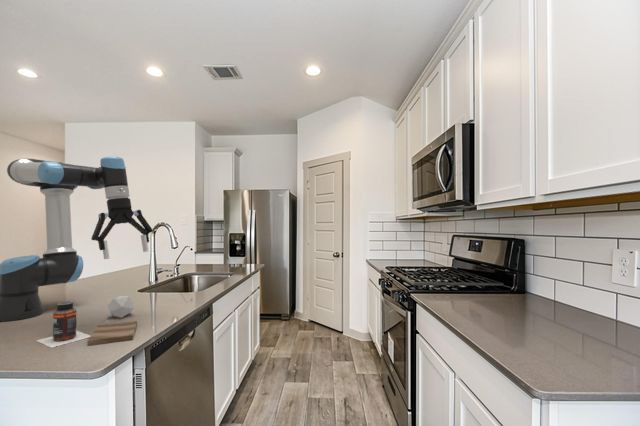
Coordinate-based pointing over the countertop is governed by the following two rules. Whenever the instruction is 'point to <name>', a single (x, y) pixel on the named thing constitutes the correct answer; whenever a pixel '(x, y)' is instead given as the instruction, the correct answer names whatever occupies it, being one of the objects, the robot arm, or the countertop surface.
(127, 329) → the walnut board
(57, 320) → the supplement bottle
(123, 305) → the die
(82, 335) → the white tile
